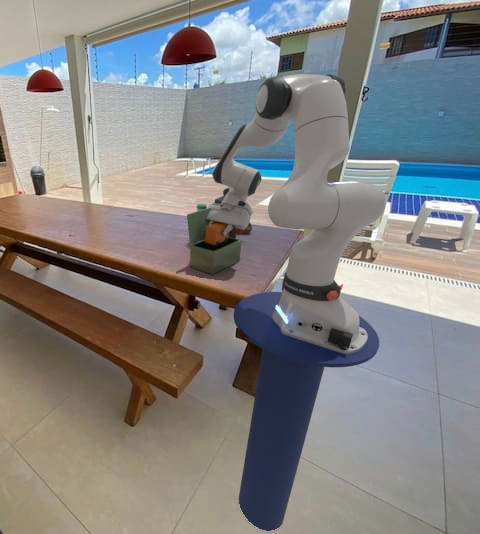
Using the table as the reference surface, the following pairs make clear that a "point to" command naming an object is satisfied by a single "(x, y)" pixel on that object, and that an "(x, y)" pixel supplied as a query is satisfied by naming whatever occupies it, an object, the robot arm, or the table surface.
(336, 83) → the robot arm
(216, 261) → the green hinged box
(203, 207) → the milk bottle
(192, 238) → the lid
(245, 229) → the brown rounded piece
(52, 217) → the table surface
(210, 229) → the toy van
